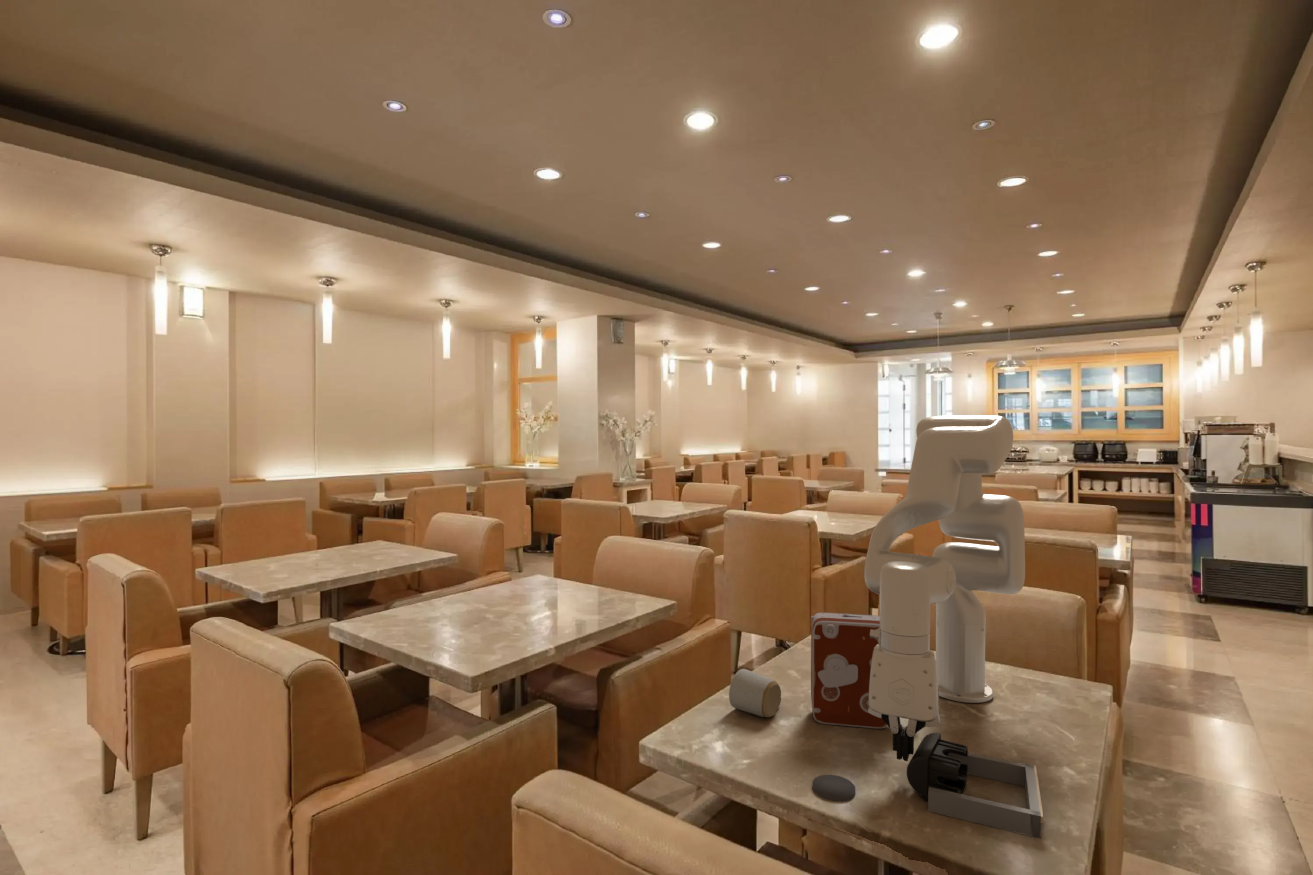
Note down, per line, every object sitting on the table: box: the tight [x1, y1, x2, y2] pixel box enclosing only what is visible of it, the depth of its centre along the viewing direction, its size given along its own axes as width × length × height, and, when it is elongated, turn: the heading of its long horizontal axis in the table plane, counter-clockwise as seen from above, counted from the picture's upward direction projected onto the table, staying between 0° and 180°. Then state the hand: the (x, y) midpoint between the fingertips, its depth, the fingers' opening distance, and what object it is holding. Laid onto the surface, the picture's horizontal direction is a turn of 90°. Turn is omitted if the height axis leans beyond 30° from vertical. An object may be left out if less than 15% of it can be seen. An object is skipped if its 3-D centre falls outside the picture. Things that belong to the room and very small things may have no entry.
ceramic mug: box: [728, 668, 782, 718], centre depth 131 cm, size 11×8×8 cm
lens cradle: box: [927, 751, 1044, 839], centre depth 100 cm, size 15×14×3 cm
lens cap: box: [811, 774, 856, 802], centre depth 102 cm, size 6×6×1 cm
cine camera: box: [810, 611, 888, 729], centre depth 126 cm, size 9×19×20 cm, turn 78°
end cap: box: [906, 732, 969, 802], centre depth 103 cm, size 10×7×7 cm
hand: (903, 756), depth 105 cm, fingers closed
